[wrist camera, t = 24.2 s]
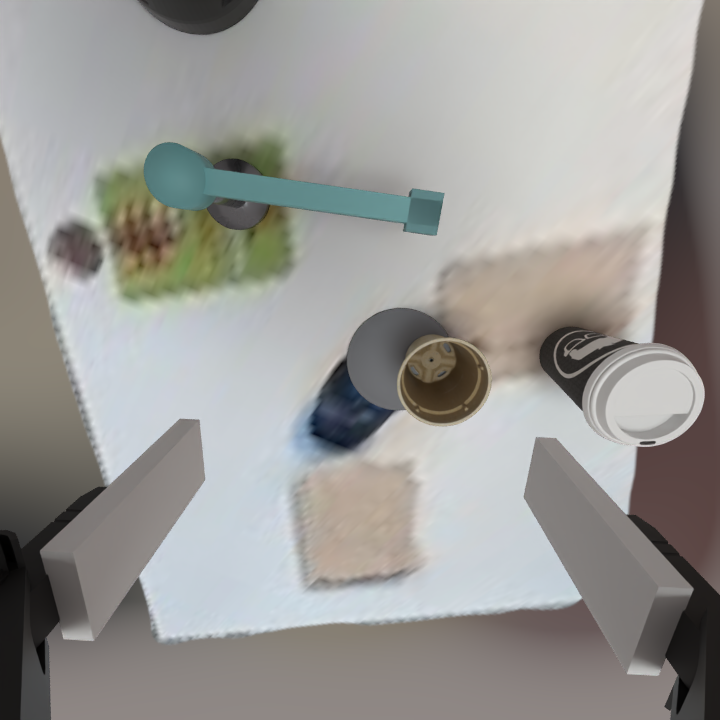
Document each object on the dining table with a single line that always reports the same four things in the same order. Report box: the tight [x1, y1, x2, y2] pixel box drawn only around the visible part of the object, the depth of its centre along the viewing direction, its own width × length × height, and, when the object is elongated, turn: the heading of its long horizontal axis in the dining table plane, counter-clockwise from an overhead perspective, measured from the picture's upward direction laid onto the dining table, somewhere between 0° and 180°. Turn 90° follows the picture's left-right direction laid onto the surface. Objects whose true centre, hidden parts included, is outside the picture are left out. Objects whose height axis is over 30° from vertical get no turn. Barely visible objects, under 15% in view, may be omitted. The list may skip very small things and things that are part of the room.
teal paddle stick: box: [144, 142, 444, 235], centre depth 30 cm, size 22×4×3 cm, turn 82°
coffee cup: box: [540, 327, 704, 447], centre depth 39 cm, size 10×10×15 cm
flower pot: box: [397, 334, 492, 426], centre depth 42 cm, size 9×9×9 cm
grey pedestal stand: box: [207, 159, 269, 230], centre depth 37 cm, size 7×7×11 cm
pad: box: [347, 308, 451, 410], centre depth 47 cm, size 13×13×1 cm
